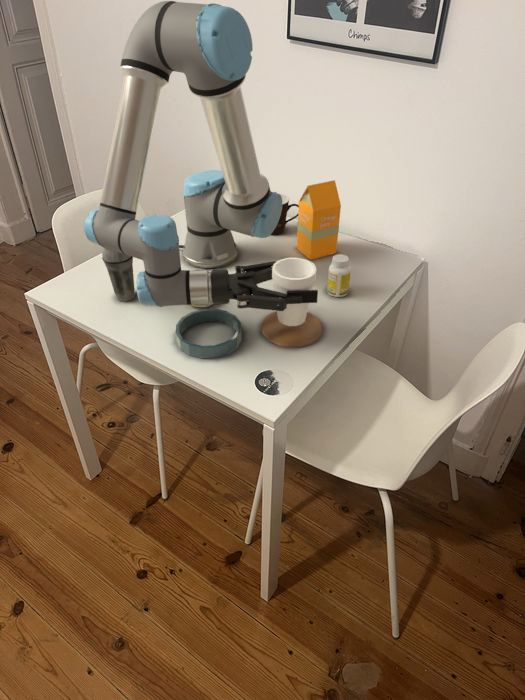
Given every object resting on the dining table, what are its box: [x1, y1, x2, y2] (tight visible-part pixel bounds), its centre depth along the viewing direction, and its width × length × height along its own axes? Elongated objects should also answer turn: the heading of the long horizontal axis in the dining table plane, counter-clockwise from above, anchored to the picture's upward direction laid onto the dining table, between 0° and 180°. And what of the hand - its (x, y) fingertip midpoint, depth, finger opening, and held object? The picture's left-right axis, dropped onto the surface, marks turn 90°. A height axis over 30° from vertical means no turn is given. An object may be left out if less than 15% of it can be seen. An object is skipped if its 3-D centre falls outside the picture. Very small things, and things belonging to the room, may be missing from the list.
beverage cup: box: [101, 247, 135, 303], centre depth 127 cm, size 7×7×20 cm
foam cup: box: [271, 257, 317, 326], centre depth 117 cm, size 10×9×13 cm
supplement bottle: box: [326, 253, 352, 298], centre depth 132 cm, size 5×5×10 cm
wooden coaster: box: [261, 311, 323, 349], centre depth 123 cm, size 14×14×1 cm
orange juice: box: [296, 179, 342, 261], centre depth 146 cm, size 8×9×20 cm
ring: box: [175, 308, 243, 360], centre depth 119 cm, size 15×15×3 cm
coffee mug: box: [269, 193, 299, 236], centre depth 158 cm, size 12×9×10 cm
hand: (313, 283), depth 115 cm, fingers closed on foam cup, 9 cm apart
